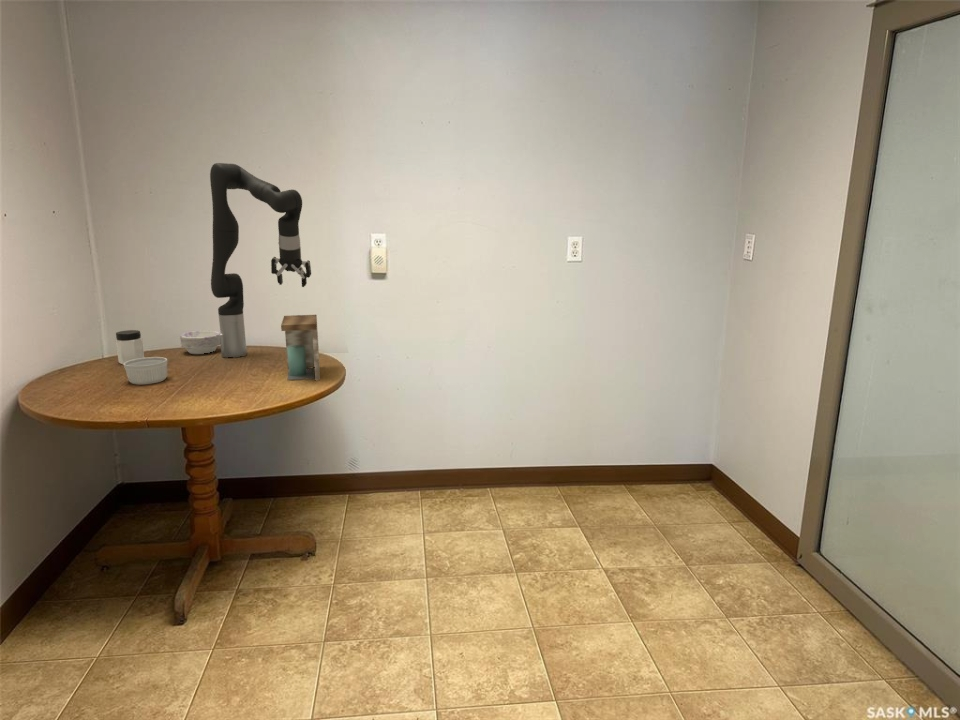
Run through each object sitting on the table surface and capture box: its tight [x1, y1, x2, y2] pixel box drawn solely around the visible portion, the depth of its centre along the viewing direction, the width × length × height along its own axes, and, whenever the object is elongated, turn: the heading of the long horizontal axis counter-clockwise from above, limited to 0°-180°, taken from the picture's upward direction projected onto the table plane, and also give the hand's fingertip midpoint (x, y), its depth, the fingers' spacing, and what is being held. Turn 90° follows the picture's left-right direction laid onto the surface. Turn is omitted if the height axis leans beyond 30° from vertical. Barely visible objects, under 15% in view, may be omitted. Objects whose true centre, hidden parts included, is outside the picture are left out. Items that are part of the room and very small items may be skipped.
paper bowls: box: [179, 330, 221, 355], centre depth 245 cm, size 15×15×8 cm
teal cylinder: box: [287, 345, 307, 376], centre depth 210 cm, size 6×6×10 cm
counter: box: [280, 314, 321, 381], centre depth 211 cm, size 12×20×20 cm, turn 15°
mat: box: [286, 368, 315, 381], centre depth 212 cm, size 9×14×1 cm, turn 15°
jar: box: [115, 329, 146, 366], centre depth 227 cm, size 9×8×12 cm
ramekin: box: [123, 356, 169, 386], centre depth 203 cm, size 13×13×7 cm
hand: (292, 285), depth 224 cm, fingers open, 8 cm apart
